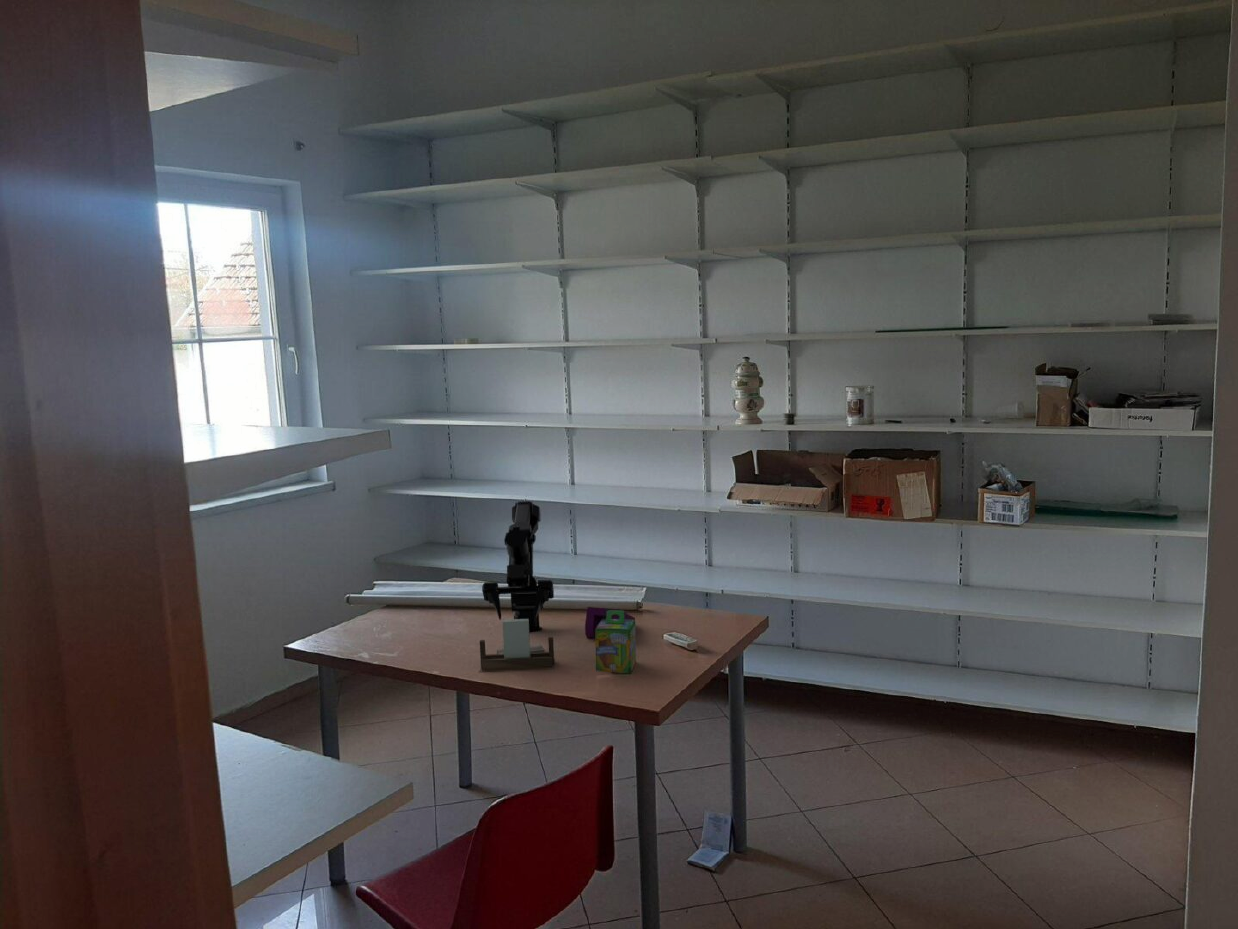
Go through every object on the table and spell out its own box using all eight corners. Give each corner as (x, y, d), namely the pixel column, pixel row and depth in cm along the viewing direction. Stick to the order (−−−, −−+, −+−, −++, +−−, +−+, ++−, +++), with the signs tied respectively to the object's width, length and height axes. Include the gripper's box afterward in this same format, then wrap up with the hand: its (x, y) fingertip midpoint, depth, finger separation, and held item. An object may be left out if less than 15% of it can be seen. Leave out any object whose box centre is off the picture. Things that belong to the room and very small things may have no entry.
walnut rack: (482, 664, 242) (481, 636, 241) (555, 661, 242) (554, 633, 241) (479, 675, 234) (477, 645, 233) (554, 672, 234) (552, 642, 233)
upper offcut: (497, 655, 246) (496, 649, 246) (541, 650, 250) (540, 644, 249) (499, 661, 242) (499, 655, 241) (544, 655, 245) (544, 649, 245)
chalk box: (595, 673, 232) (593, 616, 231) (602, 661, 241) (600, 606, 240) (631, 674, 231) (629, 616, 229) (637, 662, 240) (635, 606, 238)
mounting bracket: (606, 646, 272) (583, 637, 256) (609, 618, 275) (587, 607, 259) (636, 649, 269) (614, 639, 253) (639, 620, 271) (618, 609, 255)
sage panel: (505, 664, 239) (503, 619, 237) (530, 663, 239) (528, 618, 237) (504, 667, 237) (502, 622, 235) (530, 666, 237) (527, 621, 235)
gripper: (481, 553, 245) (477, 604, 235) (551, 550, 245) (551, 601, 235) (486, 575, 253) (483, 625, 244) (554, 572, 254) (553, 622, 244)
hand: (517, 618), depth 242 cm, fingers open, 9 cm apart
